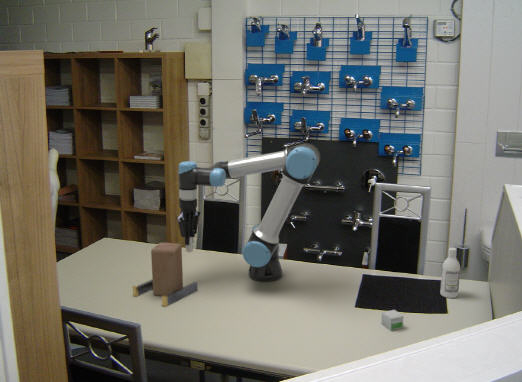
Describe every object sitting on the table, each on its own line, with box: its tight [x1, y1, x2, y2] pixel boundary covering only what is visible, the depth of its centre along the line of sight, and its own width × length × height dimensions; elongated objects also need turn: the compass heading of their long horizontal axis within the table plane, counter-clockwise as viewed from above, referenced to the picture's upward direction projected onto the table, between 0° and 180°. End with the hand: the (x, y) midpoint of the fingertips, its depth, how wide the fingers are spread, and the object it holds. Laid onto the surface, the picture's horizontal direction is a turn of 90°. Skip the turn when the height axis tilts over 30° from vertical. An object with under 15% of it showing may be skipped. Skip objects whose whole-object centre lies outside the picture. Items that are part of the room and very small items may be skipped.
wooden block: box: [150, 242, 184, 297], centre depth 224 cm, size 10×10×20 cm
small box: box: [380, 309, 404, 331], centre depth 196 cm, size 6×6×5 cm
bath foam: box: [439, 247, 461, 299], centre depth 221 cm, size 7×7×20 cm
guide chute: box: [132, 278, 198, 308], centre depth 225 cm, size 18×19×4 cm
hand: (189, 251), depth 235 cm, fingers closed
